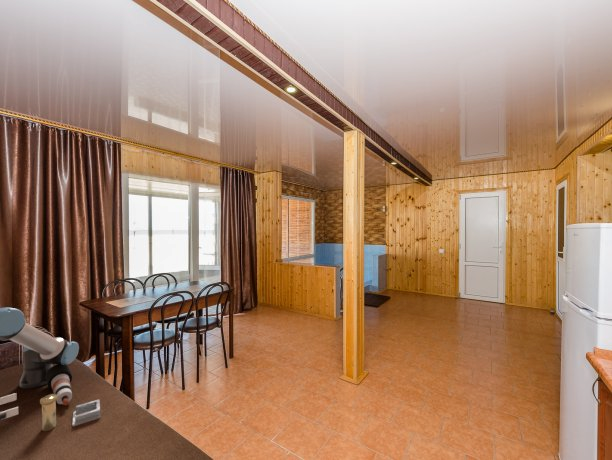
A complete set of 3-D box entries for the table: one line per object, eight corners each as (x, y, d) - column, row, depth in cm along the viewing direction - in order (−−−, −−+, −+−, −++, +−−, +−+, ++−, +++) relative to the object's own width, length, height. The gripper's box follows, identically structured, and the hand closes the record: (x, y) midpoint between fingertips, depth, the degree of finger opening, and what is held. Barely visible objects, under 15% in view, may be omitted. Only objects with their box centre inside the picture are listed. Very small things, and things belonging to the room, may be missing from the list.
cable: (65, 417, 140) (46, 409, 135) (57, 385, 164) (40, 377, 159) (84, 397, 145) (66, 388, 140) (74, 369, 169) (58, 360, 163)
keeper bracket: (73, 413, 138) (73, 406, 138) (99, 405, 144) (99, 398, 143) (72, 426, 129) (72, 419, 129) (100, 417, 135) (100, 410, 135)
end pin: (41, 426, 129) (40, 396, 129) (58, 421, 132) (57, 392, 132) (39, 433, 125) (39, 403, 124) (57, 428, 128) (56, 398, 127)
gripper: (-62, 423, 114) (15, 399, 130) (-71, 458, 97) (19, 426, 112) (-62, 403, 114) (15, 382, 129) (-72, 436, 97) (18, 407, 112)
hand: (17, 403), depth 121 cm, fingers open, 13 cm apart
